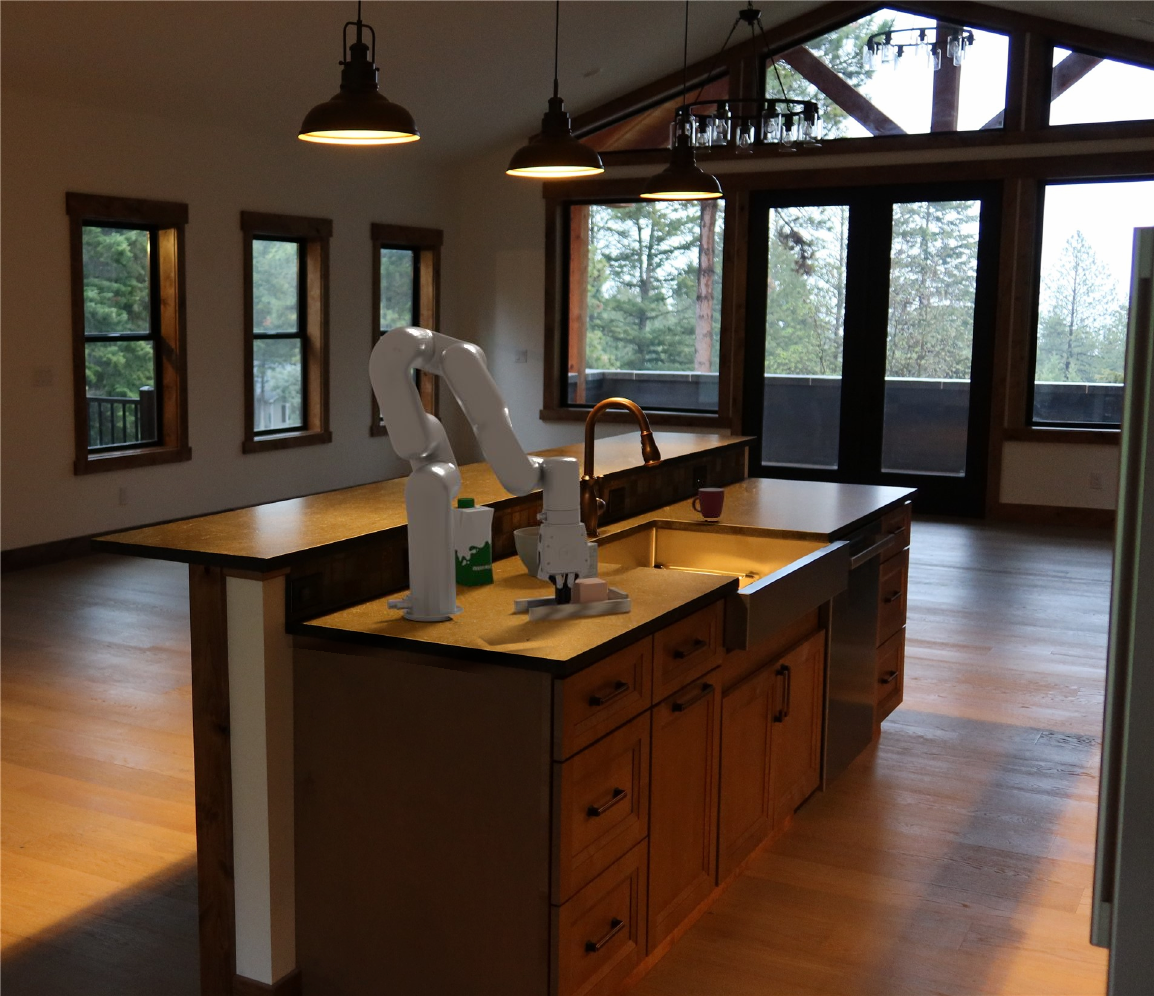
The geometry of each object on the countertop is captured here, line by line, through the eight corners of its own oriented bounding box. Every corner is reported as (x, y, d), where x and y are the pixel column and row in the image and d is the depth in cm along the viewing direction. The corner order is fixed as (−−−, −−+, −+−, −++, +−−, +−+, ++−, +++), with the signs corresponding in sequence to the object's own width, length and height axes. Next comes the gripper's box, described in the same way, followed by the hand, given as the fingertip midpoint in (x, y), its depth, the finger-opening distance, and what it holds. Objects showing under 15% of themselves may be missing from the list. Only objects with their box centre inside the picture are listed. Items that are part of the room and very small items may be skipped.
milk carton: (476, 578, 292) (475, 496, 290) (499, 583, 286) (498, 499, 283) (446, 583, 287) (444, 499, 284) (469, 589, 280) (467, 503, 277)
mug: (687, 521, 381) (687, 490, 379) (695, 518, 388) (695, 487, 387) (720, 523, 376) (720, 491, 375) (727, 519, 384) (727, 488, 383)
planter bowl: (567, 566, 307) (566, 524, 305) (590, 577, 292) (589, 533, 290) (506, 571, 301) (505, 528, 300) (526, 583, 286) (525, 537, 285)
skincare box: (583, 594, 273) (583, 541, 271) (599, 596, 270) (598, 542, 268) (565, 599, 268) (565, 544, 266) (581, 601, 265) (580, 546, 264)
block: (580, 613, 248) (580, 584, 248) (570, 608, 253) (570, 580, 253) (607, 610, 251) (607, 582, 250) (596, 605, 256) (596, 577, 255)
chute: (531, 626, 242) (530, 604, 241) (514, 616, 251) (513, 595, 251) (630, 616, 250) (630, 594, 250) (611, 606, 260) (610, 586, 259)
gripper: (533, 522, 241) (535, 612, 243) (602, 517, 247) (603, 605, 249) (521, 517, 248) (522, 605, 250) (588, 512, 254) (589, 598, 256)
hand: (563, 605), depth 250 cm, fingers closed
